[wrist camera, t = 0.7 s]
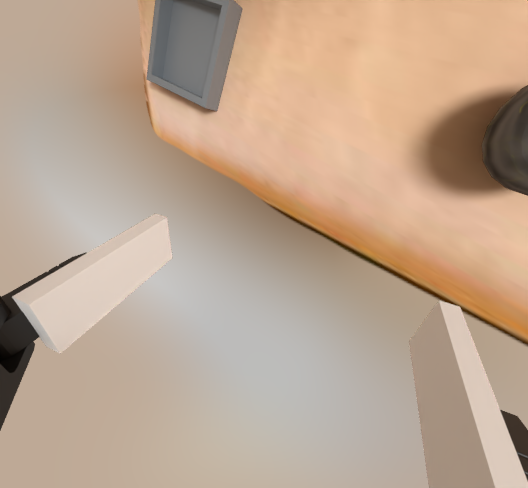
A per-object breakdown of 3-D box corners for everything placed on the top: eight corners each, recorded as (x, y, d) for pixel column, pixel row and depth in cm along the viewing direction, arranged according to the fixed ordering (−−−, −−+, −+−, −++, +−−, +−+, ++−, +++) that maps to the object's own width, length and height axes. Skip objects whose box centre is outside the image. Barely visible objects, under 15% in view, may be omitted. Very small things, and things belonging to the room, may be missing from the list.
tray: (173, -14, 37) (158, -26, 34) (242, 8, 33) (230, -3, 31) (160, 83, 43) (146, 79, 41) (217, 111, 39) (205, 108, 37)
